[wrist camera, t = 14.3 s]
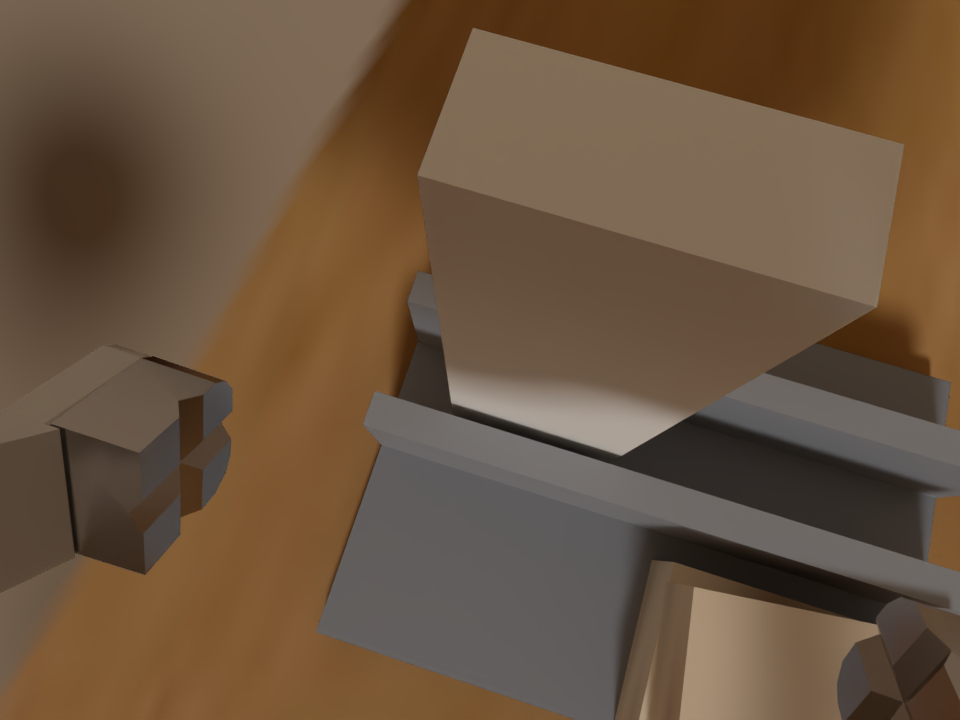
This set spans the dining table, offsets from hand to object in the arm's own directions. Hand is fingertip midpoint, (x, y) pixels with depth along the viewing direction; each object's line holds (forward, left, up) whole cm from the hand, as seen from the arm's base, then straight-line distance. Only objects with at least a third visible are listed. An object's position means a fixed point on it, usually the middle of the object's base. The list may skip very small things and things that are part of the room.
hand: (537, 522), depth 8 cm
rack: (-5, 0, -15) cm, 16 cm away
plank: (-2, -4, -14) cm, 15 cm away
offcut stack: (-7, +6, -14) cm, 17 cm away
